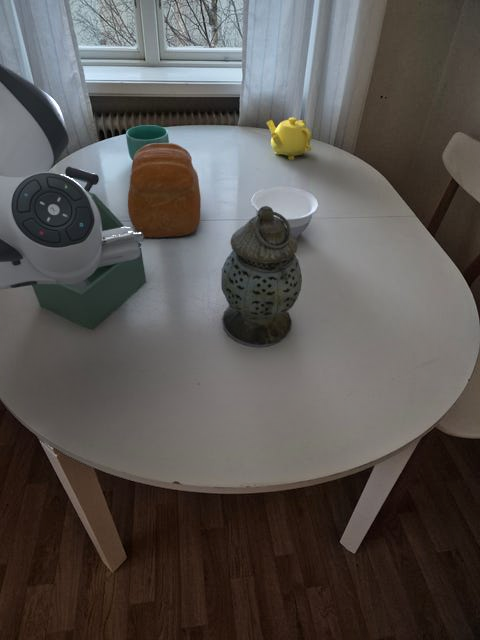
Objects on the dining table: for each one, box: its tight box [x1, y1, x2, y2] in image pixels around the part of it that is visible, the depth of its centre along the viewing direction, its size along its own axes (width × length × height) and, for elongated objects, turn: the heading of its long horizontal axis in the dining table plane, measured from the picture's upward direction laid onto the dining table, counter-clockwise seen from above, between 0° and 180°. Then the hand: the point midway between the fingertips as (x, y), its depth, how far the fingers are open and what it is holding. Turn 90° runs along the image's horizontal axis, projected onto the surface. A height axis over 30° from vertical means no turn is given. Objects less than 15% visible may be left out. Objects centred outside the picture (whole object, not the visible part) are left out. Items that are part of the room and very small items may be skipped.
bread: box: [127, 142, 202, 238], centre depth 106 cm, size 18×21×17 cm
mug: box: [125, 124, 170, 161], centre depth 131 cm, size 17×13×10 cm
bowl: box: [250, 185, 319, 240], centre depth 104 cm, size 16×16×8 cm
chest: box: [31, 247, 148, 331], centre depth 85 cm, size 17×14×9 cm
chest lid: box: [64, 165, 143, 248], centre depth 80 cm, size 17×14×5 cm
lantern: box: [220, 206, 303, 348], centre depth 75 cm, size 14×14×25 cm
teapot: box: [266, 117, 313, 160], centre depth 140 cm, size 14×14×11 cm
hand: (71, 267), depth 68 cm, fingers open, 8 cm apart
